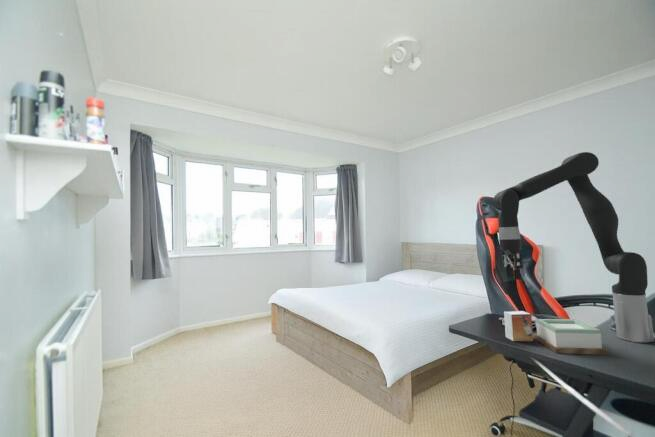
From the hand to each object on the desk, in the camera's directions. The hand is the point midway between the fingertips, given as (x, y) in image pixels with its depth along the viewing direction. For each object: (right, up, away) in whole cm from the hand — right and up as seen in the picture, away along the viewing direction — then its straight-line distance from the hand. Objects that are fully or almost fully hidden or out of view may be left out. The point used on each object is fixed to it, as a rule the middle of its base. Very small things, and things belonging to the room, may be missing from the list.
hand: (513, 278), depth 123 cm
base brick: (+14, -21, -11) cm, 27 cm away
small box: (+1, -24, -2) cm, 24 cm away
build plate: (+14, -23, -11) cm, 29 cm away
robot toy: (+11, -25, +14) cm, 31 cm away
